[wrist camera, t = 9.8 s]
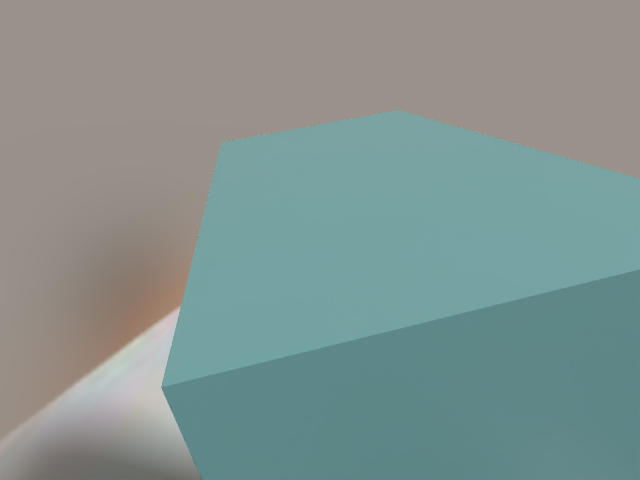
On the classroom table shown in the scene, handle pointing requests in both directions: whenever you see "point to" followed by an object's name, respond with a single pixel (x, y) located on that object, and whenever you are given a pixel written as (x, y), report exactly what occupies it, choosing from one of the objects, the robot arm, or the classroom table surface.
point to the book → (410, 310)
